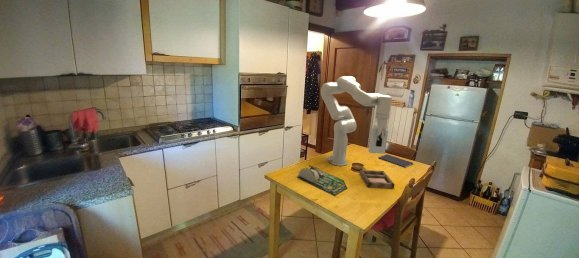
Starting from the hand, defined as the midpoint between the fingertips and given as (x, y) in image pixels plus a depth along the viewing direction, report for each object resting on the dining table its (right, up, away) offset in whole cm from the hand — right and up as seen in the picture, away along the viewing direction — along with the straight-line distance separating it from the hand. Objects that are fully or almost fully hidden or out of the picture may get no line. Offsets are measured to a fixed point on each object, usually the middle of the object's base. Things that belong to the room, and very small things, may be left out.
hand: (377, 145), depth 147 cm
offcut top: (-1, -23, -3) cm, 23 cm away
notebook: (+27, -15, +36) cm, 47 cm away
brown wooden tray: (-1, -23, 0) cm, 23 cm away
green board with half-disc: (-34, -22, 0) cm, 41 cm away
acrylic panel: (0, -5, +1) cm, 5 cm away
